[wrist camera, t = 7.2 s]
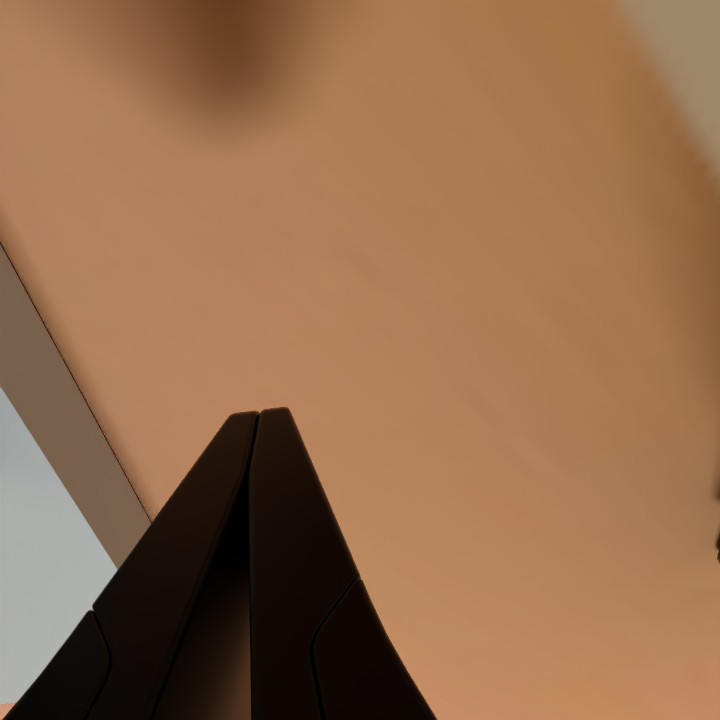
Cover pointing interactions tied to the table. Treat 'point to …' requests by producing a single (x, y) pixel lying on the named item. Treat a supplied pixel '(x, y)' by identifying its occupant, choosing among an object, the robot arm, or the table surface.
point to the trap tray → (50, 497)
